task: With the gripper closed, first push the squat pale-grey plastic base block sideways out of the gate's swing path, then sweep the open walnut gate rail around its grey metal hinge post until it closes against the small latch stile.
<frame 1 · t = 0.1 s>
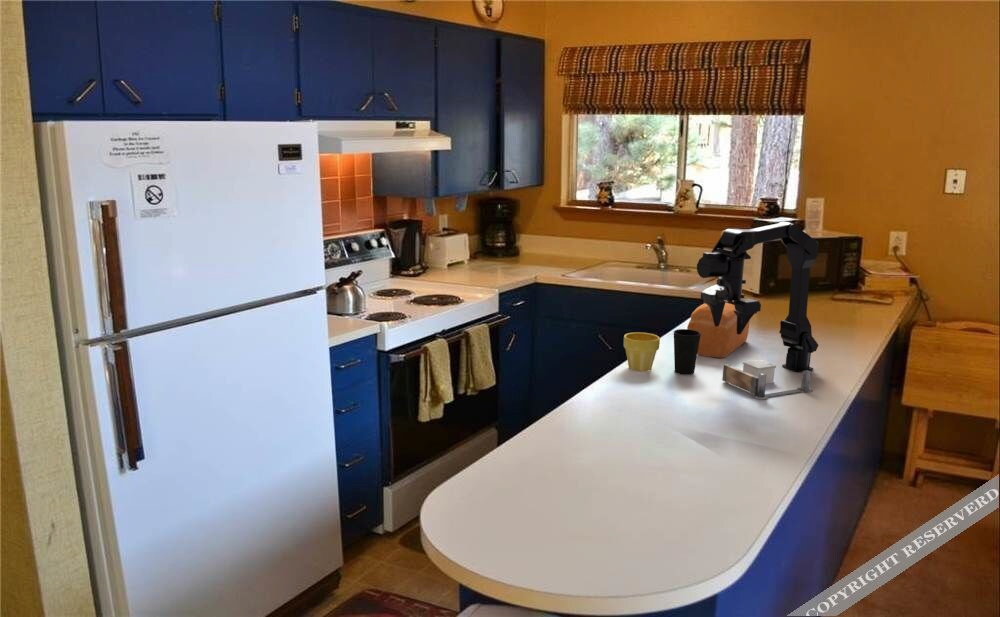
hand: (727, 330, 229), 15 cm above the counter, fingers open, 9 cm apart
cup: (684, 372, 239), on the counter
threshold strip: (782, 394, 221), on the counter
gate: (740, 379, 224), point 3 cm above the counter, hinge at 90.0°
hinge post: (760, 397, 218), on the counter
base block: (757, 380, 233), on the counter
latch stile: (804, 390, 225), on the counter
bread: (716, 347, 266), on the counter
plant pot: (639, 369, 242), on the counter
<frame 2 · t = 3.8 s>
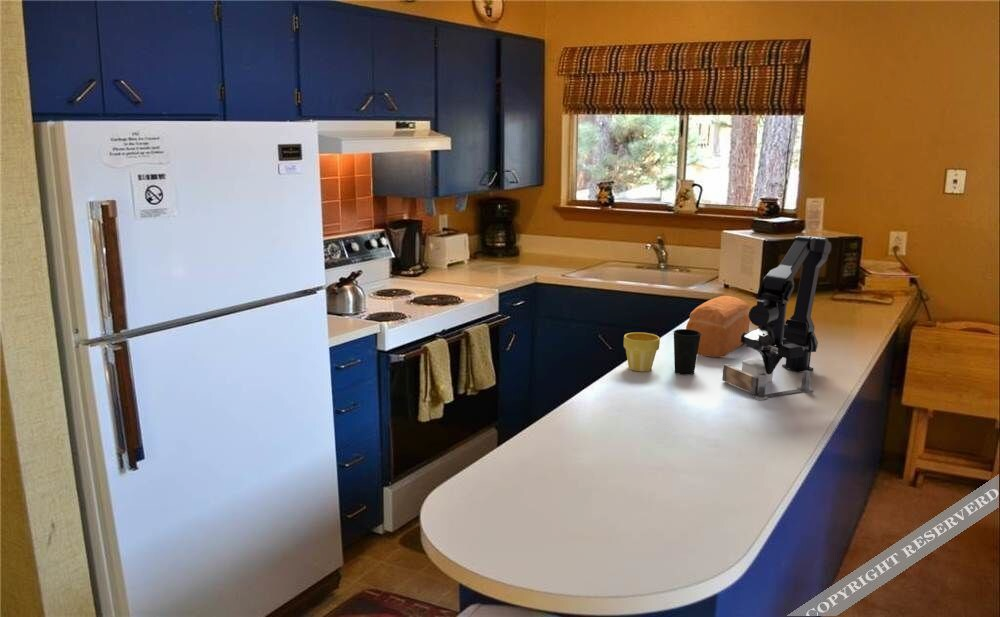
hand: (768, 374, 228), 3 cm above the counter, fingers closed
base block: (756, 379, 233), on the counter, touching gripper
everything else where it was.
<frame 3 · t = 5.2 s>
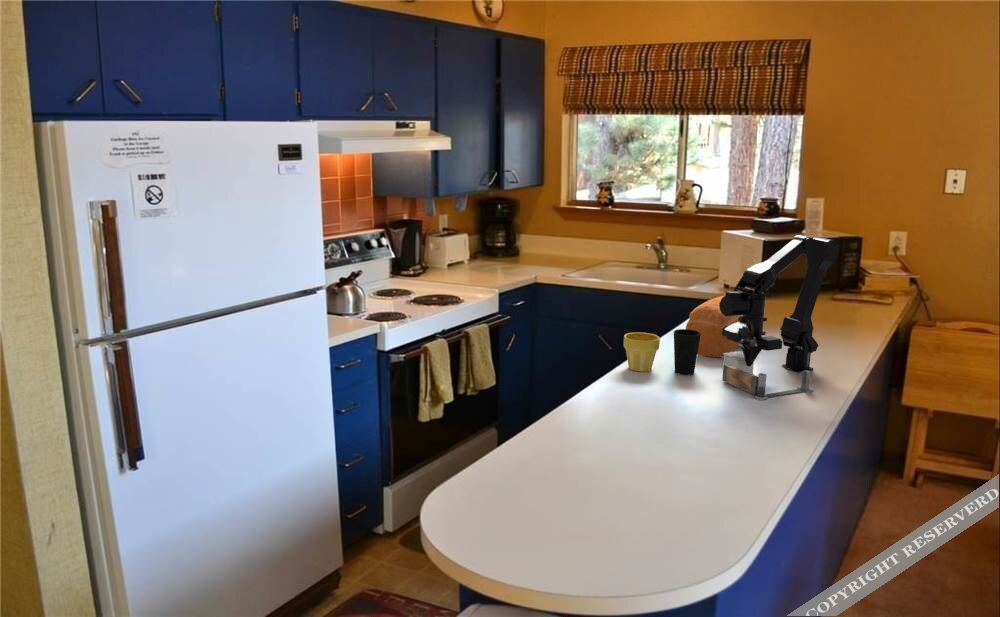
hand: (748, 365, 235), 3 cm above the counter, fingers closed
base block: (737, 371, 240), on the counter, touching gripper
everything else where it was.
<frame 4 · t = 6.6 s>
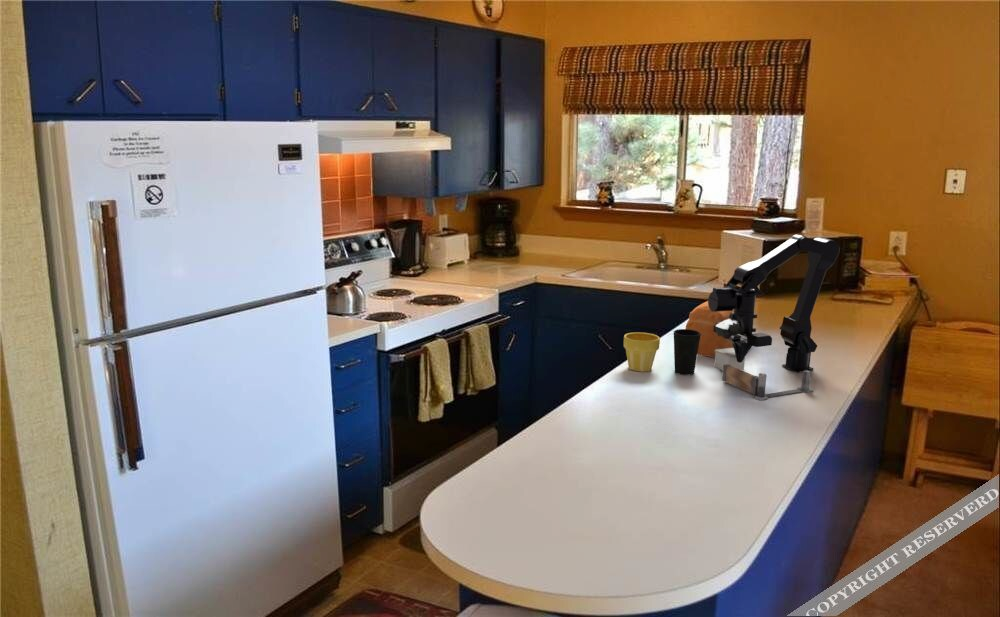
hand: (739, 362, 239), 3 cm above the counter, fingers closed
base block: (729, 367, 244), on the counter, touching gripper
everything else where it was.
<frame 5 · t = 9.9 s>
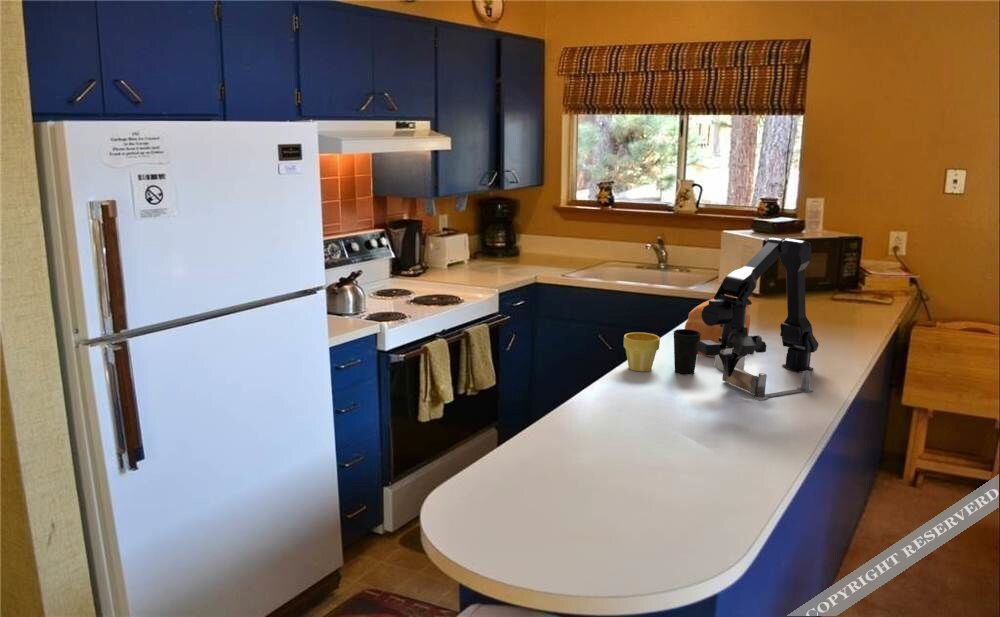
hand: (728, 376, 226), 3 cm above the counter, fingers closed
gate: (740, 379, 224), point 3 cm above the counter, hinge at 89.9°, touching gripper
base block: (729, 368, 244), on the counter
everything else where it was.
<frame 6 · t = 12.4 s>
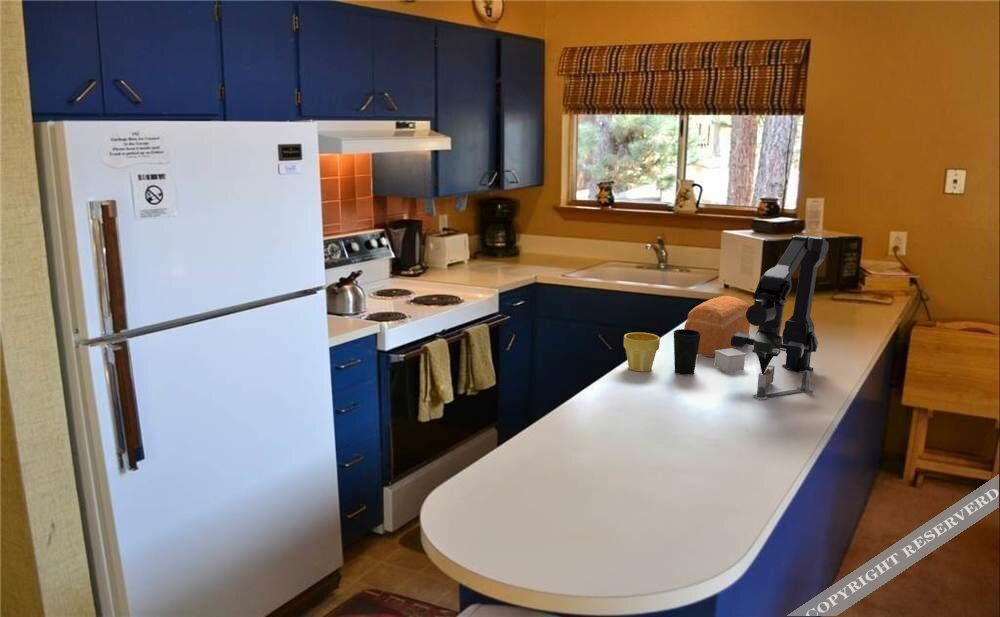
hand: (762, 374, 227), 3 cm above the counter, fingers closed
gate: (766, 379, 224), point 3 cm above the counter, hinge at 37.0°, touching gripper
everything else where it was.
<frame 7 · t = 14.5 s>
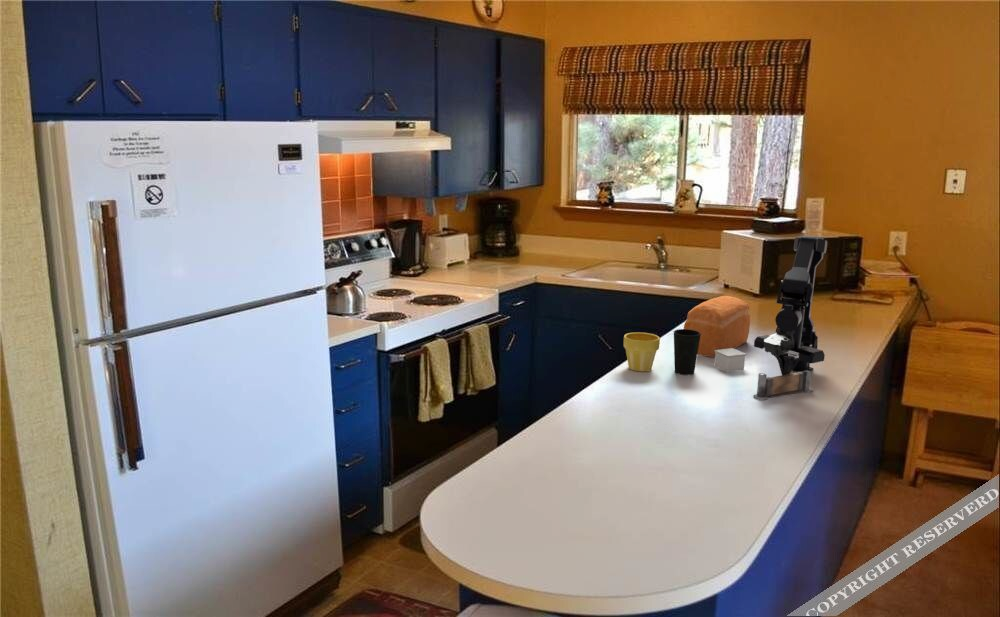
hand: (784, 378, 223), 3 cm above the counter, fingers closed
gate: (783, 383, 221), point 3 cm above the counter, hinge at 2.5°, touching gripper
everything else where it was.
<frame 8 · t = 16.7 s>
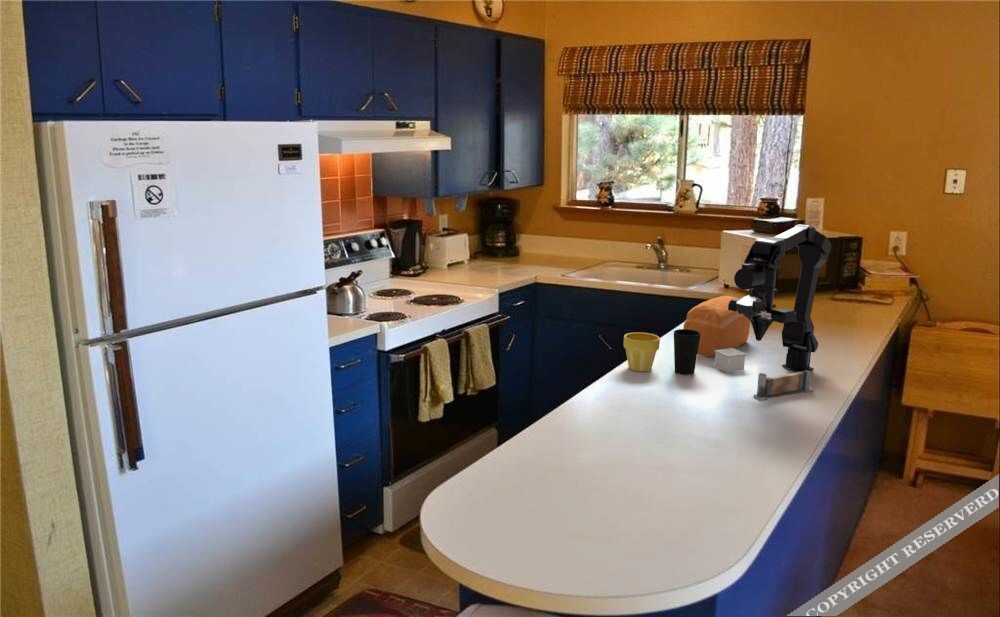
hand: (758, 340, 227), 12 cm above the counter, fingers closed
gate: (783, 383, 221), point 3 cm above the counter, hinge at 2.5°
everything else where it was.
at the end: gate at +2° (first picture: +90°); base block moved 12.5 cm from its start; base block tilted 0° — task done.
